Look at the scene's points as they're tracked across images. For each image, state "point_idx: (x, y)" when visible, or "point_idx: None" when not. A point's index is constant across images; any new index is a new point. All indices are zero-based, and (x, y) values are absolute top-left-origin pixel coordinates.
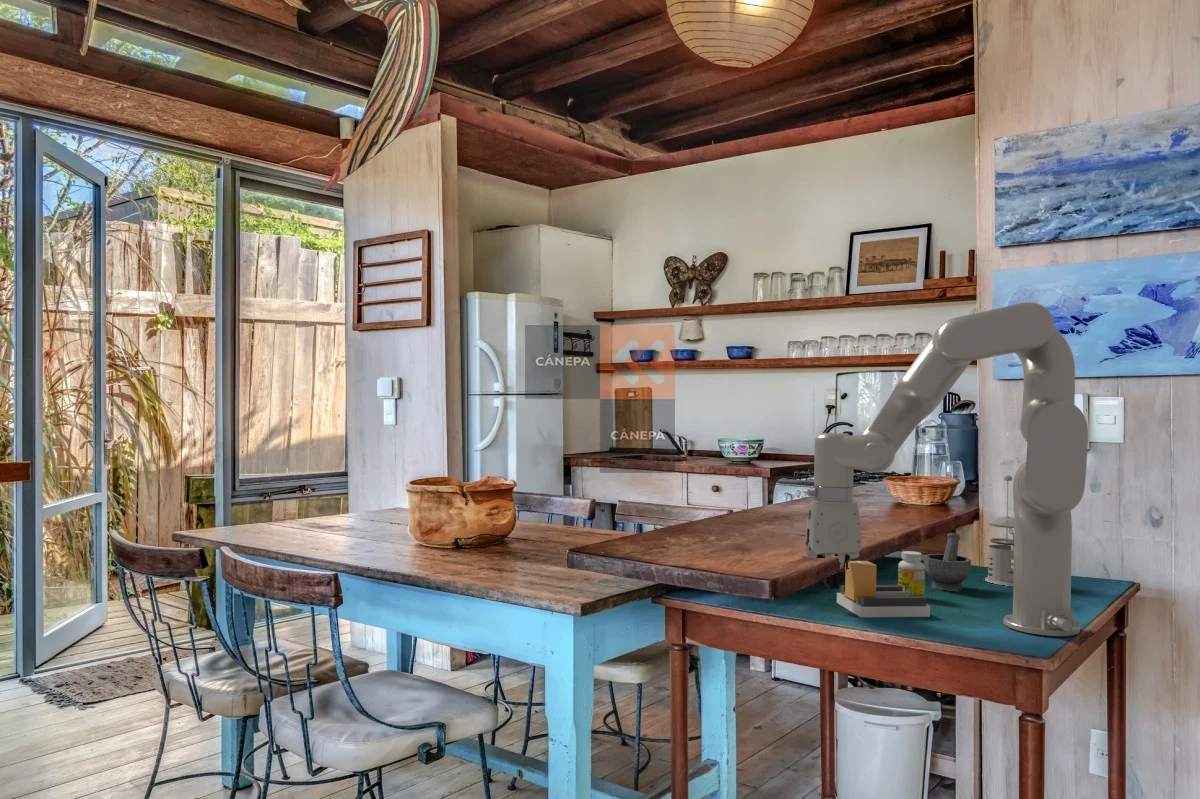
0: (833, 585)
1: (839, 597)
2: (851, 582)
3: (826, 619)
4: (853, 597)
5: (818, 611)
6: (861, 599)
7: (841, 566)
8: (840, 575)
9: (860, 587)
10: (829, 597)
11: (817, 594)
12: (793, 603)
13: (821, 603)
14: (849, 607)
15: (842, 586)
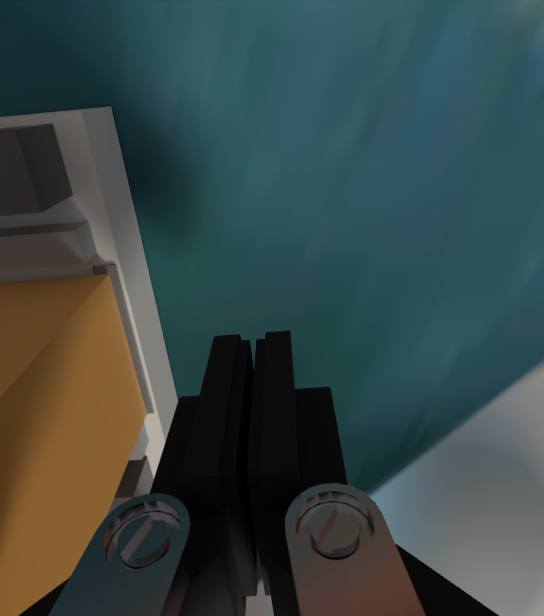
0: (267, 342)
1: None
2: (70, 400)
3: (391, 27)
4: (103, 292)
5: (361, 265)
6: (44, 184)
7: (130, 523)
8: (168, 445)
9: (2, 328)
10: None
11: None
12: (437, 429)
13: None
14: (148, 302)
15: None
